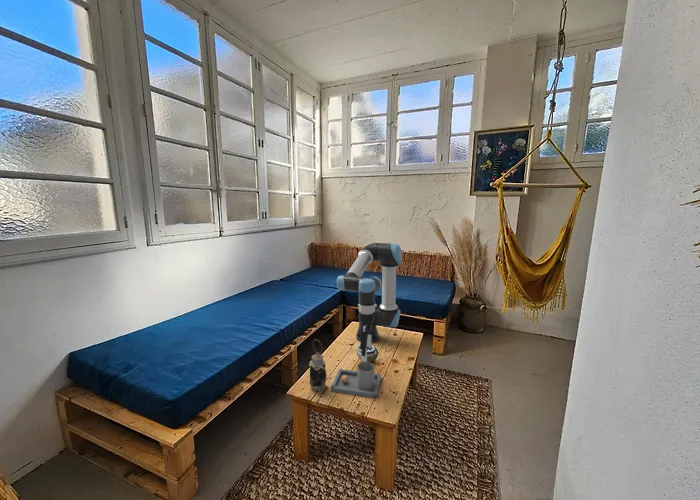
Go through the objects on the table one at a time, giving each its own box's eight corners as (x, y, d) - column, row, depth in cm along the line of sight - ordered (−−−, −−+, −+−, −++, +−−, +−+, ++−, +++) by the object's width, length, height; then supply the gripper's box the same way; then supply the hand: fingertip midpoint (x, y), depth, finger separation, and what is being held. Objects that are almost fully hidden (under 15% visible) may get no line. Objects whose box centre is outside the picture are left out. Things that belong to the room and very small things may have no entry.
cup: (372, 391, 135) (373, 372, 134) (355, 389, 137) (356, 370, 135) (375, 381, 143) (375, 362, 142) (358, 379, 145) (359, 360, 143)
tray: (339, 372, 151) (339, 368, 151) (380, 378, 147) (380, 374, 146) (330, 392, 136) (330, 387, 136) (376, 399, 131) (376, 394, 131)
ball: (342, 379, 145) (342, 373, 144) (349, 380, 144) (349, 374, 143) (340, 384, 141) (340, 377, 141) (347, 385, 140) (347, 378, 140)
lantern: (306, 387, 140) (304, 339, 135) (318, 380, 145) (318, 333, 141) (317, 395, 134) (316, 345, 130) (330, 387, 139) (329, 339, 135)
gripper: (363, 302, 147) (363, 340, 150) (353, 322, 123) (353, 367, 127) (378, 303, 145) (377, 341, 149) (370, 323, 121) (369, 369, 125)
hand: (366, 353), depth 138 cm, fingers open, 13 cm apart
